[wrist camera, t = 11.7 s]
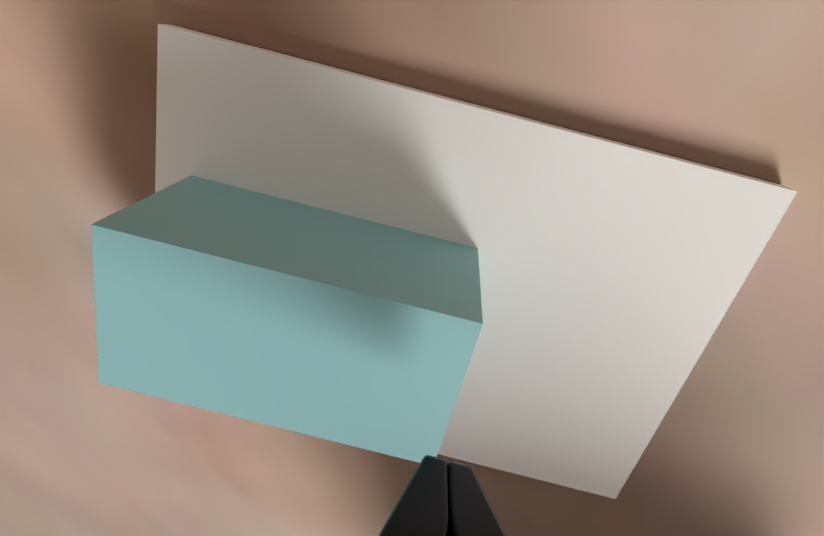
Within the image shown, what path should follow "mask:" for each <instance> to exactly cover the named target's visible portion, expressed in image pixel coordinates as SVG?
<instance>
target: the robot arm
mask: <svg viewBox="0 0 824 536" xmlns="http://www.w3.org/2000/svg"><path fill="white" fill-rule="evenodd" d="M379 536H505V534H504V532H503V530H502V528H501V526H500V524H499V522H498V520H497V518H496V516H495V514H494V512H493V510H492V508H491V506H490V504H489V502H488V500H487V498H486V496H485V494H484V492H483V490H482V488H481V486H480V484H479V482H478V480H477V478H476V476H475V474H474V472H473V470H472V468H471V467H470V466H469V465H466V464H462V463H458V462H454V461H449V462H446V460H445V459H442V458H438V457H434V456H430V455H426V456H424V457H423V459H422V461H421V463H420V464H419V466H418V468H417V470H416V471H415V473H414V475H413V477H412V478H411V480H410V482H409V484H408V485H407V487H406V489H405V491H404V492H403V494H402V496H401V498H400V499H399V501H398V503H397V505H396V506H395V508H394V510H393V512H392V513H391V515H390V517H389V519H388V520H387V522H386V524H385V526H384V527H383V529H382V531H381V533H380V534H379Z"/></svg>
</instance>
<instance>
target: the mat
mask: <svg viewBox="0 0 824 536" xmlns="http://www.w3.org/2000/svg"><path fill="white" fill-rule="evenodd" d="M190 175H193V176H196V177H200V178H204V179H208V180H212V181H216V182H220V183H224V184H228V185H232V186H236V187H240V188H243V189H247V190H251V191H255V192H259V193H263V194H267V195H271V196H275V197H279V198H283V199H287V200H290V201H294V202H298V203H302V204H306V205H310V206H314V207H318V208H322V209H326V210H330V211H334V212H337V213H341V214H345V215H349V216H353V217H357V218H361V219H365V220H369V221H373V222H377V223H380V224H384V225H388V226H392V227H396V228H400V229H404V230H408V231H412V232H416V233H420V234H424V235H427V236H431V237H435V238H439V239H443V240H447V241H451V242H455V243H459V244H463V245H467V246H471V247H474V248H478V258H479V273H480V288H481V304H482V319H483V325H482V328H481V331H480V334H479V336H478V339H477V342H476V345H475V348H474V351H473V354H472V357H471V359H470V362H469V365H468V368H467V371H466V374H465V377H464V380H463V383H462V385H461V388H460V391H459V394H458V397H457V400H456V403H455V406H454V408H453V411H452V414H451V417H450V420H449V423H448V426H447V429H446V432H445V434H444V437H443V440H442V443H441V446H440V449H439V452H438V454H439V455H443V456H447V457H451V458H455V459H459V460H463V461H467V462H471V463H475V464H479V465H483V466H487V467H490V468H494V469H498V470H502V471H506V472H510V473H514V474H518V475H522V476H526V477H530V478H534V479H538V480H542V481H546V482H550V483H554V484H558V485H562V486H566V487H570V488H573V489H577V490H581V491H585V492H589V493H593V494H597V495H601V496H605V497H609V498H613V499H616V498H617V496H618V494H619V492H620V491H621V489H622V487H623V486H624V484H625V482H626V481H627V479H628V477H629V476H630V474H631V472H632V471H633V469H634V467H635V465H636V464H637V462H638V460H639V459H640V457H641V455H642V454H643V452H644V450H645V449H646V447H647V445H648V443H649V442H650V440H651V438H652V437H653V435H654V433H655V432H656V430H657V428H658V427H659V425H660V423H661V421H662V420H663V418H664V416H665V415H666V413H667V411H668V410H669V408H670V406H671V405H672V403H673V401H674V399H675V398H676V396H677V394H678V393H679V391H680V389H681V388H682V386H683V384H684V383H685V381H686V379H687V377H688V376H689V374H690V372H691V371H692V369H693V367H694V366H695V364H696V362H697V361H698V359H699V357H700V355H701V354H702V352H703V350H704V349H705V347H706V345H707V344H708V342H709V340H710V339H711V337H712V335H713V333H714V332H715V330H716V328H717V327H718V325H719V323H720V322H721V320H722V318H723V317H724V315H725V313H726V311H727V310H728V308H729V306H730V305H731V303H732V301H733V300H734V298H735V296H736V295H737V293H738V291H739V289H740V288H741V286H742V284H743V283H744V281H745V279H746V278H747V276H748V274H749V273H750V271H751V269H752V267H753V266H754V264H755V262H756V261H757V259H758V257H759V256H760V254H761V252H762V251H763V249H764V247H765V245H766V244H767V242H768V240H769V239H770V237H771V235H772V234H773V232H774V230H775V229H776V227H777V225H778V223H779V222H780V220H781V218H782V217H783V215H784V213H785V212H786V210H787V208H788V207H789V205H790V203H791V201H792V200H793V198H794V196H795V195H796V193H797V191H795V190H793V189H790V188H788V187H786V186H784V185H780V184H777V183H773V182H769V181H765V180H761V179H758V178H754V177H750V176H746V175H742V174H738V173H735V172H731V171H727V170H723V169H719V168H716V167H712V166H708V165H704V164H700V163H697V162H693V161H689V160H685V159H681V158H678V157H674V156H670V155H666V154H662V153H658V152H655V151H651V150H647V149H643V148H639V147H636V146H632V145H628V144H624V143H620V142H617V141H613V140H609V139H605V138H601V137H598V136H594V135H590V134H586V133H582V132H579V131H575V130H571V129H567V128H563V127H559V126H556V125H552V124H548V123H544V122H540V121H537V120H533V119H529V118H525V117H521V116H518V115H514V114H510V113H506V112H502V111H499V110H495V109H491V108H487V107H483V106H479V105H476V104H472V103H468V102H464V101H460V100H457V99H453V98H449V97H445V96H441V95H438V94H434V93H430V92H426V91H422V90H419V89H415V88H411V87H407V86H403V85H400V84H396V83H392V82H388V81H384V80H380V79H377V78H373V77H369V76H365V75H361V74H358V73H354V72H350V71H346V70H342V69H339V68H335V67H331V66H327V65H323V64H320V63H316V62H312V61H308V60H304V59H300V58H297V57H293V56H289V55H285V54H281V53H278V52H274V51H270V50H266V49H262V48H259V47H255V46H251V45H247V44H243V43H240V42H236V41H232V40H228V39H224V38H220V37H217V36H213V35H209V34H205V33H201V32H198V31H194V30H190V29H186V28H182V27H179V26H175V25H171V24H158V42H157V104H156V166H155V193H156V192H158V191H160V190H162V189H164V188H166V187H168V186H170V185H172V184H174V183H176V182H178V181H180V180H182V179H184V178H186V177H188V176H190Z"/></svg>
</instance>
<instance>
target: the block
mask: <svg viewBox="0 0 824 536" xmlns="http://www.w3.org/2000/svg"><path fill="white" fill-rule="evenodd" d="M91 232H92V254H93V276H94V298H95V320H96V341H97V363H98V383H102V384H106V385H110V386H114V387H118V388H122V389H126V390H130V391H134V392H138V393H142V394H146V395H150V396H154V397H158V398H162V399H166V400H170V401H174V402H178V403H182V404H186V405H190V406H194V407H198V408H202V409H206V410H210V411H214V412H218V413H222V414H226V415H230V416H234V417H238V418H242V419H246V420H250V421H254V422H258V423H262V424H266V425H270V426H274V427H278V428H282V429H286V430H290V431H294V432H298V433H302V434H306V435H310V436H314V437H318V438H322V439H326V440H330V441H334V442H338V443H342V444H346V445H350V446H354V447H358V448H362V449H366V450H370V451H374V452H378V453H382V454H386V455H390V456H394V457H398V458H402V459H406V460H410V461H414V462H418V463H421V461H422V459H423V457H424V456H426V455H430V456H434V457H437V455H438V452H439V449H440V446H441V443H442V440H443V437H444V434H445V432H446V429H447V426H448V423H449V420H450V417H451V414H452V411H453V408H454V406H455V403H456V400H457V397H458V394H459V391H460V388H461V385H462V383H463V380H464V377H465V374H466V371H467V368H468V365H469V362H470V359H471V357H472V354H473V351H474V348H475V345H476V342H477V339H478V336H479V334H480V331H481V328H482V325H483V319H482V304H481V288H480V273H479V258H478V248H474V247H471V246H467V245H463V244H459V243H455V242H451V241H447V240H443V239H439V238H435V237H431V236H427V235H424V234H420V233H416V232H412V231H408V230H404V229H400V228H396V227H392V226H388V225H384V224H380V223H377V222H373V221H369V220H365V219H361V218H357V217H353V216H349V215H345V214H341V213H337V212H334V211H330V210H326V209H322V208H318V207H314V206H310V205H306V204H302V203H298V202H294V201H290V200H287V199H283V198H279V197H275V196H271V195H267V194H263V193H259V192H255V191H251V190H247V189H243V188H240V187H236V186H232V185H228V184H224V183H220V182H216V181H212V180H208V179H204V178H200V177H196V176H193V175H190V176H188V177H186V178H184V179H182V180H180V181H178V182H176V183H174V184H172V185H170V186H168V187H166V188H164V189H162V190H160V191H158V192H156V193H154V194H152V195H150V196H148V197H146V198H144V199H142V200H140V201H138V202H136V203H134V204H132V205H130V206H128V207H126V208H124V209H122V210H119V211H117V212H115V213H113V214H111V215H109V216H107V217H105V218H103V219H101V220H99V221H97V222H95V223H93V224H91Z"/></svg>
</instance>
